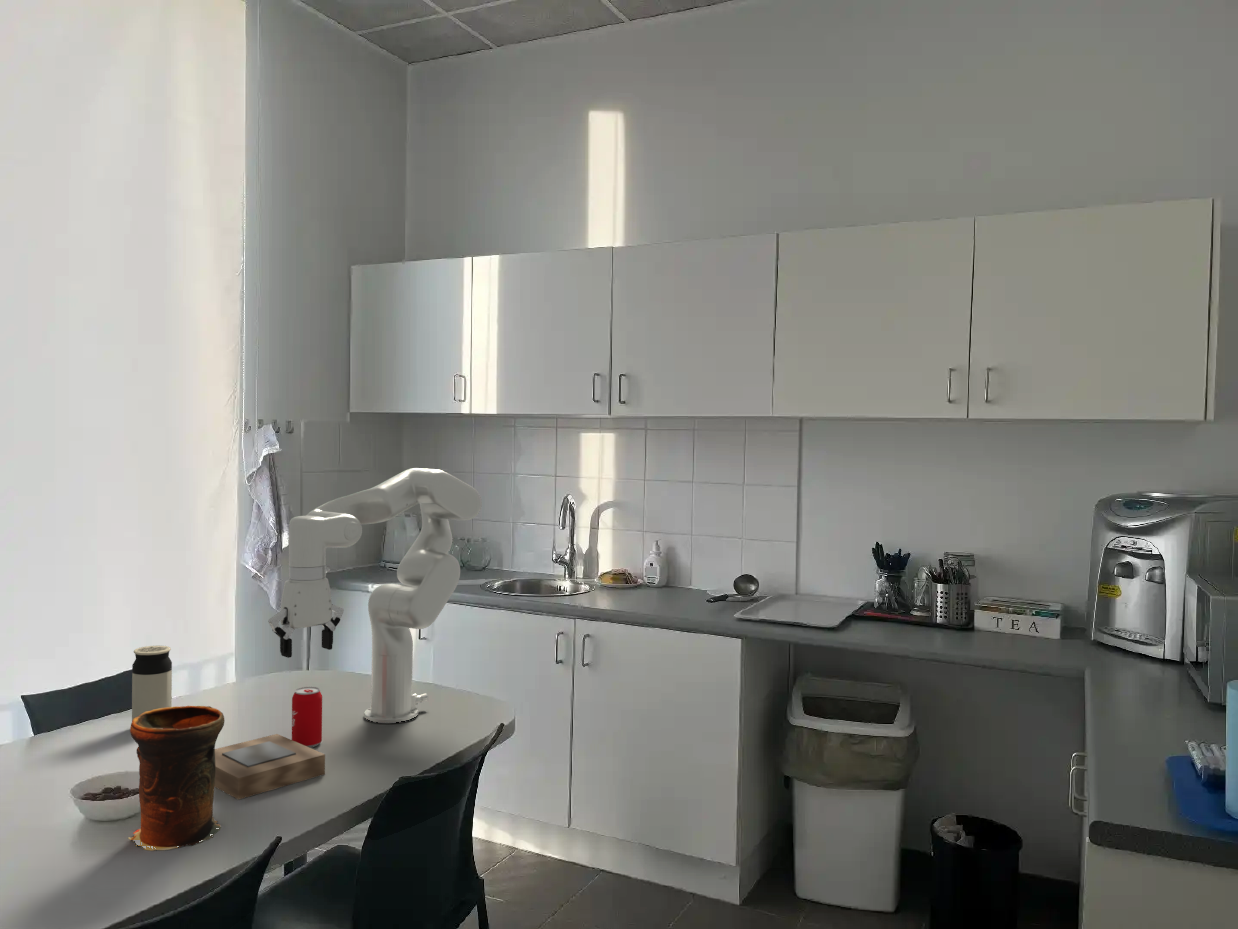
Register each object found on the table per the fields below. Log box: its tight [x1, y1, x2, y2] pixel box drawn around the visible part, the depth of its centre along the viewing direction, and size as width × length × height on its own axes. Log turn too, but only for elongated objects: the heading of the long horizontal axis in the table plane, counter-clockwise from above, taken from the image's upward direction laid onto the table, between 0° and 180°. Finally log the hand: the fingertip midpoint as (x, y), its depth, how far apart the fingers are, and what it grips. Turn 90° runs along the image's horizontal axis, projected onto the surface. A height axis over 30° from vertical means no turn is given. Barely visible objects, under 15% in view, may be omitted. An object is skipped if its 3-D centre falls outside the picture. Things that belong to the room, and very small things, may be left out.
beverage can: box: [291, 686, 323, 749], centre depth 205 cm, size 6×6×12 cm
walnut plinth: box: [214, 733, 326, 801], centre depth 187 cm, size 18×18×4 cm
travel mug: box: [131, 645, 173, 722], centre depth 213 cm, size 8×8×18 cm
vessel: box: [127, 705, 225, 852], centre depth 160 cm, size 14×14×20 cm
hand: (307, 652), depth 204 cm, fingers open, 9 cm apart
